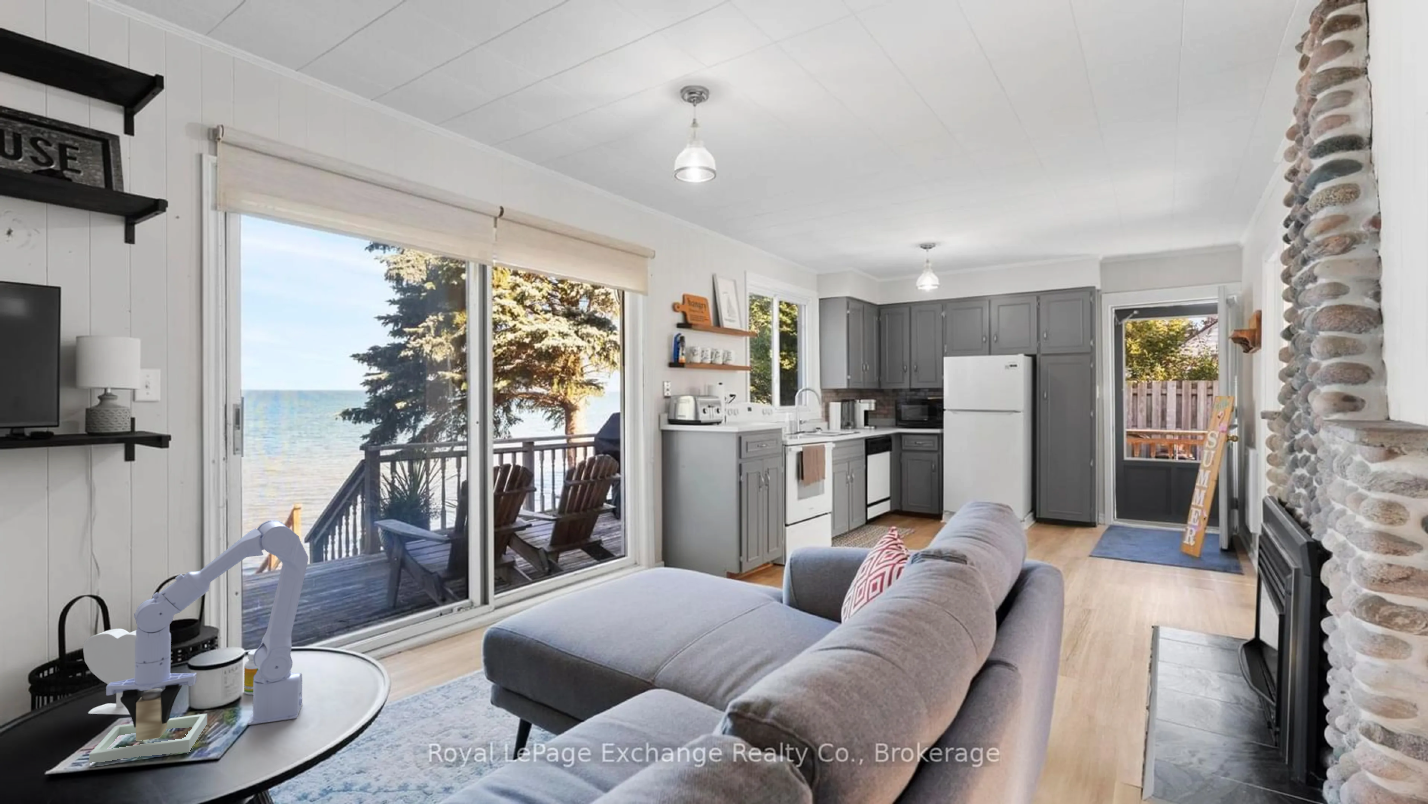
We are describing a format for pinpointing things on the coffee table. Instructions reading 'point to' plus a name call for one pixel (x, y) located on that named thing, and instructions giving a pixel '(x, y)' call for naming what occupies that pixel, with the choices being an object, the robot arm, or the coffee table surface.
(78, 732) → the coffee table surface
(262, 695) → the robot arm
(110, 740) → the tray
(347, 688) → the coffee table surface
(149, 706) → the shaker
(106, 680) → the heart sculpture
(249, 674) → the supplement bottle
